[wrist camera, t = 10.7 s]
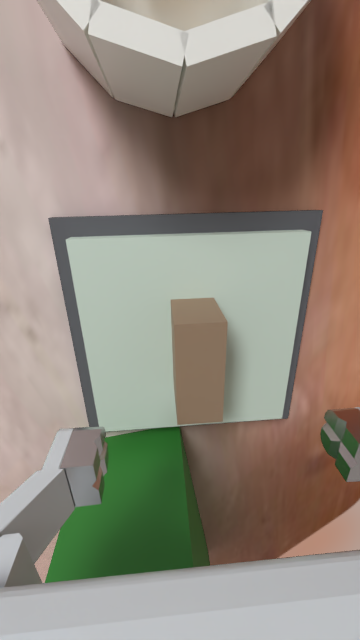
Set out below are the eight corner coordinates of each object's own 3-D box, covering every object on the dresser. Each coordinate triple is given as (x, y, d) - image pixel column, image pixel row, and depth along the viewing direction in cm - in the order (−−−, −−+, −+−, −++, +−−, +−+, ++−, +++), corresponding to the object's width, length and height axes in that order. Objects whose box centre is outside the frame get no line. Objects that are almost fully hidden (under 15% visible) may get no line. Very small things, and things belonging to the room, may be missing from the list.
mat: (52, 217, 15) (48, 218, 15) (317, 209, 16) (322, 210, 16) (92, 427, 21) (90, 433, 21) (284, 412, 22) (287, 418, 22)
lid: (71, 237, 15) (39, 251, 11) (302, 229, 16) (352, 240, 12) (102, 421, 21) (88, 477, 16) (276, 409, 21) (305, 459, 17)
